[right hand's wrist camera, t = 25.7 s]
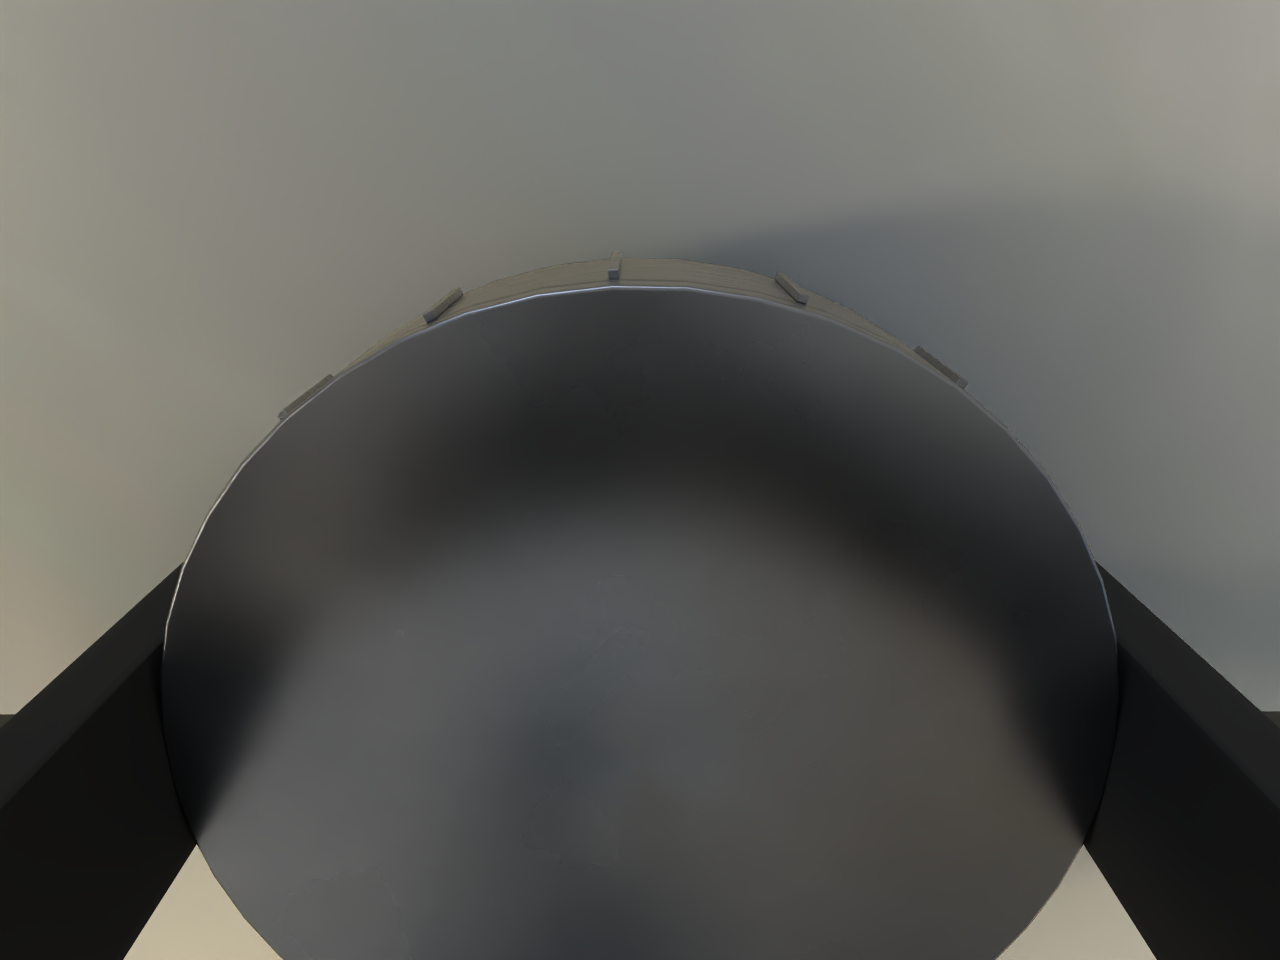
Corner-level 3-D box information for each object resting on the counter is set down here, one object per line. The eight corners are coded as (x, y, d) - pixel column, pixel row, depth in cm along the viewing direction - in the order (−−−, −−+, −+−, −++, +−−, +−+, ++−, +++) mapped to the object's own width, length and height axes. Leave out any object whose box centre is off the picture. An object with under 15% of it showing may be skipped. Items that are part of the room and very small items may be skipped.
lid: (785, 1046, 15) (808, 1188, 13) (133, 799, 13) (43, 918, 11) (1216, 505, 11) (1338, 582, 9) (417, 75, 10) (359, 57, 8)
